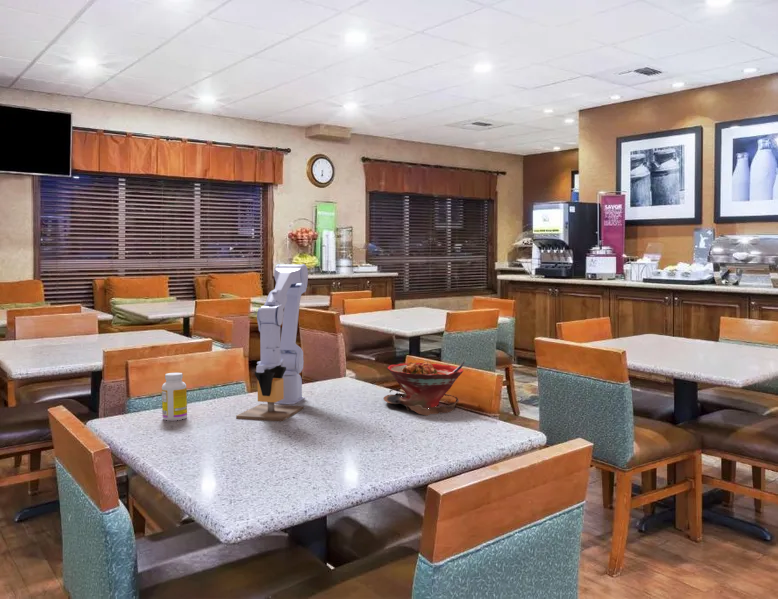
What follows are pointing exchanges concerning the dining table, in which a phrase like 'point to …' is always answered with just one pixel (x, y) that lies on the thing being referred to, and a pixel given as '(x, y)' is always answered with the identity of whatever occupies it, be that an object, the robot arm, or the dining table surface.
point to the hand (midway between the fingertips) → (270, 393)
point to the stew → (423, 386)
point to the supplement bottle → (174, 397)
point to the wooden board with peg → (270, 412)
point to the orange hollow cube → (273, 391)
